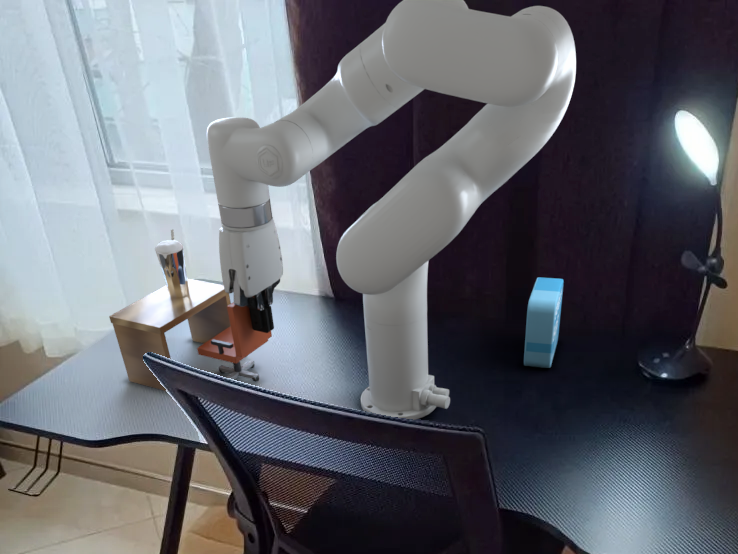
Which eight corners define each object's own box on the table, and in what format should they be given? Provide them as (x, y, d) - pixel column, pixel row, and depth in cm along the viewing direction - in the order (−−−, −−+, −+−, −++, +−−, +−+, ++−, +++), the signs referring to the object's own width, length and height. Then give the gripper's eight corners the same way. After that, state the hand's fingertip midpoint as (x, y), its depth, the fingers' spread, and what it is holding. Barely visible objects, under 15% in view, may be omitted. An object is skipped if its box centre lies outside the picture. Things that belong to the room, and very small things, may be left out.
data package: (549, 371, 133) (555, 304, 125) (523, 369, 134) (527, 302, 127) (558, 340, 142) (564, 275, 134) (533, 338, 143) (538, 274, 135)
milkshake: (197, 287, 137) (185, 229, 131) (188, 299, 133) (175, 240, 126) (172, 287, 137) (159, 229, 131) (162, 299, 133) (148, 240, 127)
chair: (279, 371, 137) (265, 286, 127) (247, 395, 131) (231, 308, 121) (236, 361, 141) (220, 277, 131) (203, 384, 134) (184, 298, 125)
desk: (240, 349, 144) (229, 286, 137) (176, 393, 132) (159, 327, 125) (194, 338, 149) (180, 276, 141) (128, 381, 137) (108, 316, 129)
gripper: (255, 195, 121) (271, 307, 133) (193, 225, 111) (216, 344, 123) (295, 201, 118) (308, 315, 130) (235, 233, 108) (254, 353, 120)
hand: (263, 329), depth 127 cm, fingers closed
